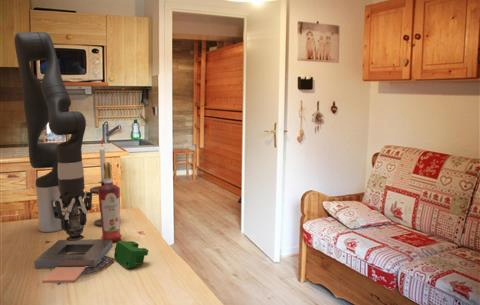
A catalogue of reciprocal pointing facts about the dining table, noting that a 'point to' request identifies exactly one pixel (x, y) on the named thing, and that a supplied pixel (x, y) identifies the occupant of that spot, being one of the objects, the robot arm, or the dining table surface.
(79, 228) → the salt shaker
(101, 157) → the candlestick
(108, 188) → the liquor
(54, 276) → the tile
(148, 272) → the dining table surface
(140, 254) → the clamp
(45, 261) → the grey square frame
